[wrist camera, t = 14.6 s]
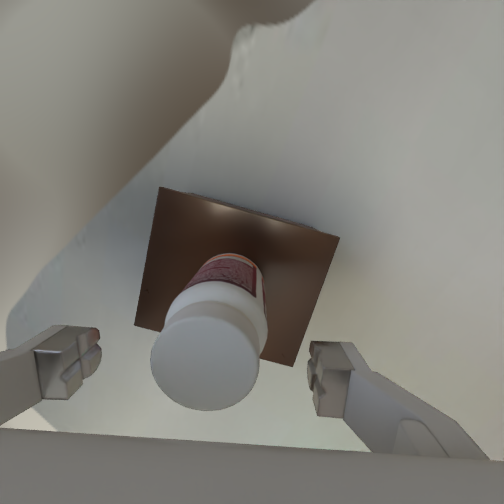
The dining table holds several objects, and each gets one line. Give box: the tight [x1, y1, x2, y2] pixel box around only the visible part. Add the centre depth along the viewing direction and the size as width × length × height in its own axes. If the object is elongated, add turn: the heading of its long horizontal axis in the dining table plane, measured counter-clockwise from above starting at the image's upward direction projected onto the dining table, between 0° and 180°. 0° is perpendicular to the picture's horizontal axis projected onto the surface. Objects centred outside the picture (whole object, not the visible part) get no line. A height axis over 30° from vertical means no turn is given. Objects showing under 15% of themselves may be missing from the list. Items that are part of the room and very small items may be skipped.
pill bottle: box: [150, 253, 268, 411], centre depth 13 cm, size 5×5×8 cm
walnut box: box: [134, 187, 340, 367], centre depth 20 cm, size 12×10×7 cm
